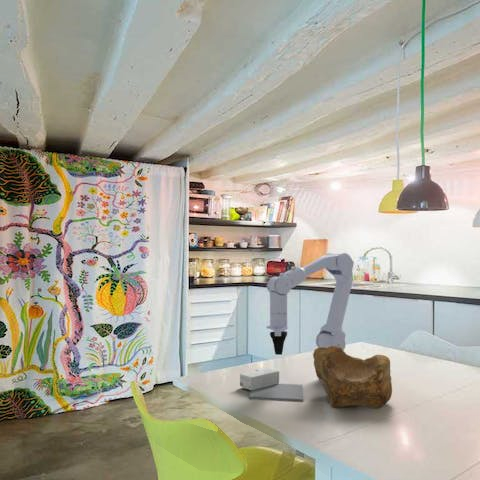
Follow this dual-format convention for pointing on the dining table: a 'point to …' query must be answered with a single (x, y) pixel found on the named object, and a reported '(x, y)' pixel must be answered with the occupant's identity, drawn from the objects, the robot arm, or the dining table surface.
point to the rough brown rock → (353, 378)
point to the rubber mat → (279, 392)
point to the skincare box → (259, 378)
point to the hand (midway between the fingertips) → (278, 354)
